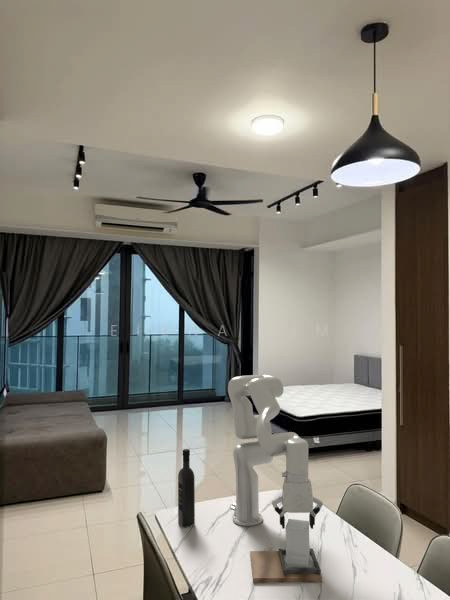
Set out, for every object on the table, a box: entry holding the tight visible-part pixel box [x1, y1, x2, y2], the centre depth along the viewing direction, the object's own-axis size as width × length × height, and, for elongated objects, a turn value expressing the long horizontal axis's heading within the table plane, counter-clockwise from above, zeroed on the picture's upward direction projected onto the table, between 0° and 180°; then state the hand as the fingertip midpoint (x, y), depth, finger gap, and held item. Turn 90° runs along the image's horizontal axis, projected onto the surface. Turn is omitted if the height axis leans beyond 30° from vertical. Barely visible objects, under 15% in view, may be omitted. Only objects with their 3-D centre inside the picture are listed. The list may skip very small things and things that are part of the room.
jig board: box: [249, 547, 323, 584], centre depth 143 cm, size 22×16×3 cm
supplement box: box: [284, 518, 311, 568], centre depth 143 cm, size 7×7×13 cm
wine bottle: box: [177, 448, 196, 528], centre depth 175 cm, size 6×6×30 cm
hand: (297, 526), depth 144 cm, fingers open, 9 cm apart
